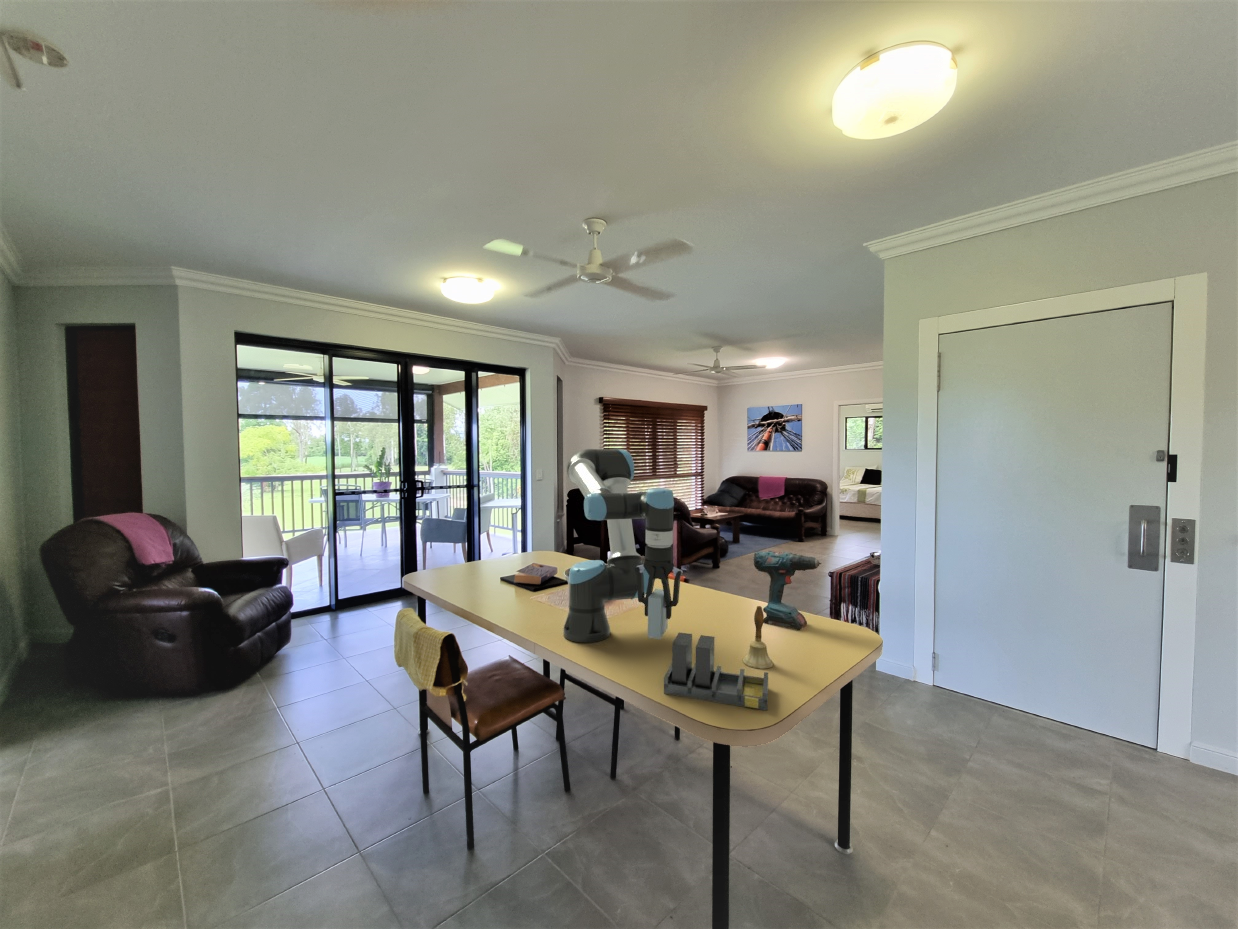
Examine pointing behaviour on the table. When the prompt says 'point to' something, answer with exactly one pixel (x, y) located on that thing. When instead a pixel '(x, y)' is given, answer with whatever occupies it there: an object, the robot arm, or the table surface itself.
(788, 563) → the power drill
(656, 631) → the pale blue block
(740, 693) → the rack
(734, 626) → the table surface
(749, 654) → the hand bell
